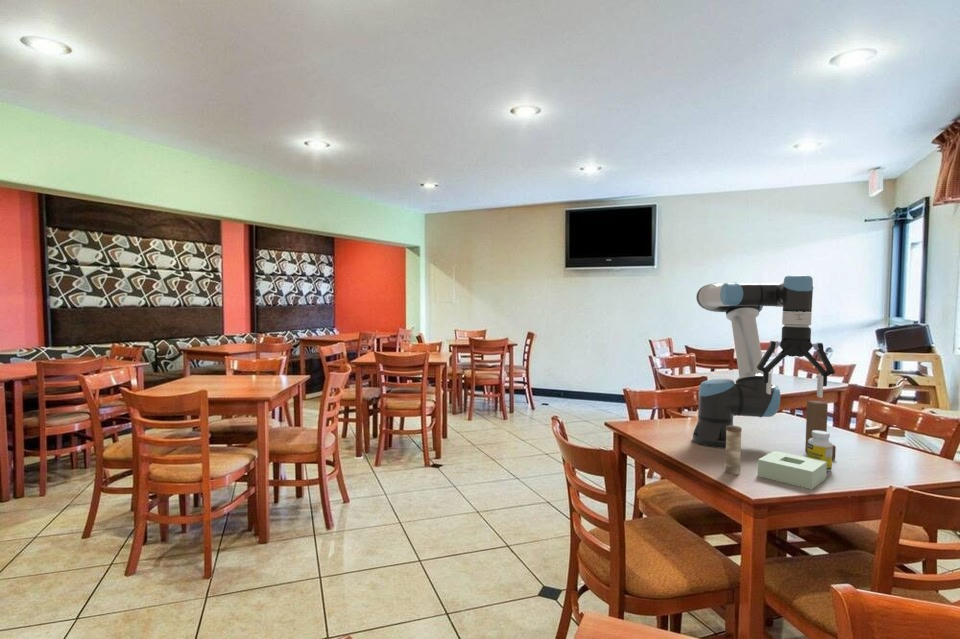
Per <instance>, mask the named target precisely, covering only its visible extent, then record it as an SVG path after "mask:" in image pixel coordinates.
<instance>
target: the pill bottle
mask: <svg viewBox="0 0 960 639" xmlns="http://www.w3.org/2000/svg"><path fill="white" fill-rule="evenodd" d="M830 434H831V433H830V432H828V431H827V432H825V431H818V430H813V431H812V436H813V437H812V438H810V439H809V440H808V450H807V452H806V453H807V455H806V457H807V458H811V459H816V460H821V461H826V462H827V470H826V472H829V471H831V470H832V467H833V466H832V465H833V459H832V451H833V445H834V444H833V443H832V441H831V440H830Z"/></svg>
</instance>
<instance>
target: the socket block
mask: <svg viewBox="0 0 960 639" xmlns="http://www.w3.org/2000/svg"><path fill="white" fill-rule="evenodd" d="M826 470H827V462H826V461H821V460H816V459H811V458H807V456H802V455H796V454H792V453H788V452H783V451H778V450H774V451H772V452H769V453H767V454H766V455H764V456H761V457H760V458H758V459H757V477H761V478H764V479H769V480H773V481H777V482H781V483H784V484H789V485H792V486H796V485H797V487H800V486H801V487H800V488H804V487H805V489H808V488H809V490H813V489H814V488H816V487H817V486H818V485H820V484H821V483H822V482H824V481H825V480H826V479H827V471H826Z"/></svg>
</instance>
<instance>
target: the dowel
mask: <svg viewBox="0 0 960 639" xmlns="http://www.w3.org/2000/svg"><path fill="white" fill-rule="evenodd" d="M742 431H743V430H742V427H741V426H737V425H733V426H731V425H730V426H726V448H725V464H724V466H725V467H724V472H725V474H727V473H728V474H729V475H731V474H732V475H733V476H739V475H741V454H742V453H741V452H742V449H741V448H742V447H741V446H742Z"/></svg>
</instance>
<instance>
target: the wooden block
mask: <svg viewBox="0 0 960 639" xmlns="http://www.w3.org/2000/svg"><path fill="white" fill-rule="evenodd" d="M828 410H829V408H828V403H826V402H823V401H821V400H807V401H806V419H805V448H804V449H805V452H806V453H807V450H808V440H809V439H810V438H812V437H813V436H812V431H813V430H818V431H825V432H828V431H827V430H828V429H827V428H828ZM836 452H837V448H836V445H834V444H833V451H832V460H835V459H836Z"/></svg>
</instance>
